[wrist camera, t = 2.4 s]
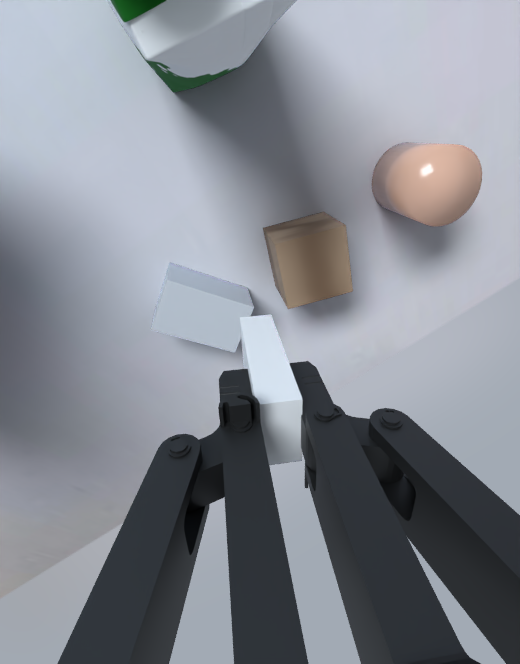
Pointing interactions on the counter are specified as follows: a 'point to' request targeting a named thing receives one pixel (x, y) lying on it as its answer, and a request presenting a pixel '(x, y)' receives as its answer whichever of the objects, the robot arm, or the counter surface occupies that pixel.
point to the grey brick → (201, 308)
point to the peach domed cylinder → (427, 181)
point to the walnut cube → (309, 259)
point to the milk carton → (196, 35)
